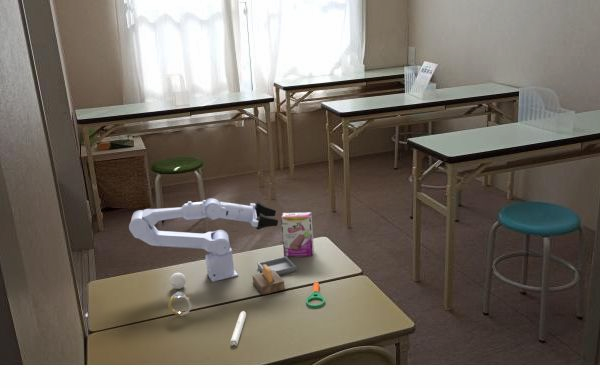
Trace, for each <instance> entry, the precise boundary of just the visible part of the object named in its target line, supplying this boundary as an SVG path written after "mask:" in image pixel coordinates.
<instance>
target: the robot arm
mask: <svg viewBox="0 0 600 388" xmlns="http://www.w3.org/2000/svg"><path fill="white" fill-rule="evenodd" d="M276 213H277V210H276V209H273V208H271V207H268V206H266V205H265V204H262V203H261V202H260V201H257V202H256V203H254V202H250V203H249V205H247V204H246V205H245V204H241V203H240V204H239V203H233V202H226V201H220V200H218V199H217V198H210V197H209V198H207V199H202V201H196V202H192V201H191V200H190V201H189V200H188V201H187V203H184V204H183V205H181V207H166V208H165V207H164V208H163V207H162V208H146V209H143V210H142V209H141V210H140V209H139V210H136V211H134V212H133V214H132V215H131V220H130V223H129V225H128V229H129V231H130V233H131V235H132V236H133V237H134V238H136V239H139V240H140V241H143V242H144V243H146V244H148V245H149V246H155V247H167V248H168V247H169V248H170V247H171V248H184V249H185V248H186V249H203V250H204V251H205V252H207V253H208V254H205V265H206V273H207V276H208V277H209V279H210V281H211V282H218V281H222V280H225V279H226V280H227V279H230V278H234V277H238V275H239V274H238V273H237V271H236V270H235V267H234V260H233V258H234V257H233V249H232V247H231V244H230V237H229V233H228V232H227V231H225V230H223V229H218V230H214V231H207V232H205V233H199V232H198V233H196V232H186V231H185V232H183V231H167V230H158V229H157V227H156V226H155V225H156V224H157V223H158V222H159V221H166V220H172V219H179V218H184V219H185V220H186V221H189V220H196V219H197V220H199V219H206V218H210V219H211V220H212V221H213V220H217V219H224V220H232V221H239V222H246V223H250V225H251V227H255V228H256V230H258V231H259V230H261V229H264V228H265V229H266V228H268V227H269V228H270V227H277V226H278V223H279V219H277V218H274V217H275V216H276Z"/></svg>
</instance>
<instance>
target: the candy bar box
mask: <svg viewBox="0 0 600 388" xmlns="http://www.w3.org/2000/svg"><path fill="white" fill-rule="evenodd" d="M281 214H282V215H281V217H280V219H281V220H280V221H281V233H282V245H283V246H282V247H283V257H284V256H286V257H287V258H295V257H298V258H301V257H302V258H303V257H313V256H314V252H315V248H314V234H313V233H314V232H313V230H314V229H313V217H312V212H311V211H310V212H308V211H307V212H282V213H281Z"/></svg>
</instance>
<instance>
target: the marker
mask: <svg viewBox="0 0 600 388" xmlns="http://www.w3.org/2000/svg"><path fill="white" fill-rule="evenodd" d="M246 319H247V313H246V312H245V311H244V310H242V311H241V312H240V313H239V316H238V318H237V321H236V324H235V327H234V329H233V332H232V336H231V339H230V341H229V342H230V343H229V344H230V346H237V345H238V343H239V341H240V336H241V334H242V330H243V327H244V324H245V321H246Z"/></svg>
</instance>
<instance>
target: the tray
mask: <svg viewBox="0 0 600 388" xmlns="http://www.w3.org/2000/svg"><path fill="white" fill-rule="evenodd" d="M264 264H266V265H267V266H268V267H269V268H270V269H271V270H274V271H275V272H276V273H277V274H278V275H279V276H284V275H286V274H291V273H295V272H297V265H296V264H295V263H293V261H292V260H291V259H289V257H286V256H284V255H283V256H281V257H276V258H273V259H268V260H263V261H259V262H257V268H258V270H259V271H260V272H261V273H263V266H262V265H264Z"/></svg>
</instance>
